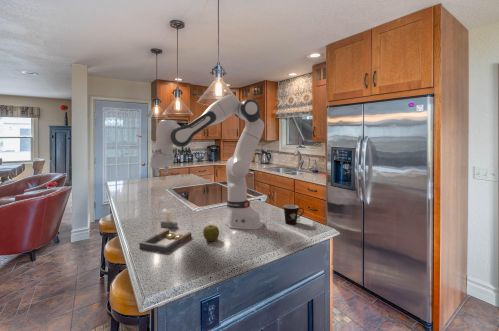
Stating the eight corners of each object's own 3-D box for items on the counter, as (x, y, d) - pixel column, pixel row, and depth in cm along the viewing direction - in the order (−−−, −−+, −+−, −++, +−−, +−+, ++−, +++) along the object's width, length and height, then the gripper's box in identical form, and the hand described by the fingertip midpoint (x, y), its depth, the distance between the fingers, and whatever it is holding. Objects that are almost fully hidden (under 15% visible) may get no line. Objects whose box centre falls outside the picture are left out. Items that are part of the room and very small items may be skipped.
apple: (211, 236, 135) (211, 222, 134) (222, 240, 130) (222, 226, 129) (200, 240, 129) (199, 226, 128) (211, 244, 124) (210, 230, 123)
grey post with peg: (177, 227, 148) (177, 212, 147) (175, 228, 146) (174, 213, 145) (163, 225, 152) (162, 210, 151) (160, 226, 150) (160, 211, 149)
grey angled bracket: (180, 244, 125) (180, 239, 124) (166, 253, 115) (166, 247, 115) (154, 240, 130) (154, 235, 130) (139, 248, 121) (139, 242, 120)
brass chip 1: (177, 236, 135) (177, 233, 135) (171, 239, 131) (171, 236, 131) (170, 235, 137) (169, 232, 136) (164, 238, 132) (164, 235, 132)
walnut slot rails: (191, 237, 134) (191, 232, 133) (180, 244, 125) (180, 238, 125) (167, 233, 139) (166, 229, 138) (155, 239, 130) (155, 234, 130)
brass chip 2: (185, 237, 133) (185, 234, 133) (179, 241, 129) (179, 238, 129) (177, 236, 135) (177, 233, 135) (172, 240, 131) (172, 236, 131)
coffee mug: (282, 225, 152) (282, 208, 150) (284, 220, 160) (284, 204, 159) (303, 226, 149) (303, 209, 148) (303, 221, 157) (304, 205, 156)
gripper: (160, 150, 131) (157, 177, 132) (176, 150, 151) (174, 174, 152) (148, 148, 132) (145, 176, 133) (166, 148, 152) (164, 172, 153)
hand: (161, 175), depth 143 cm, fingers open, 8 cm apart
